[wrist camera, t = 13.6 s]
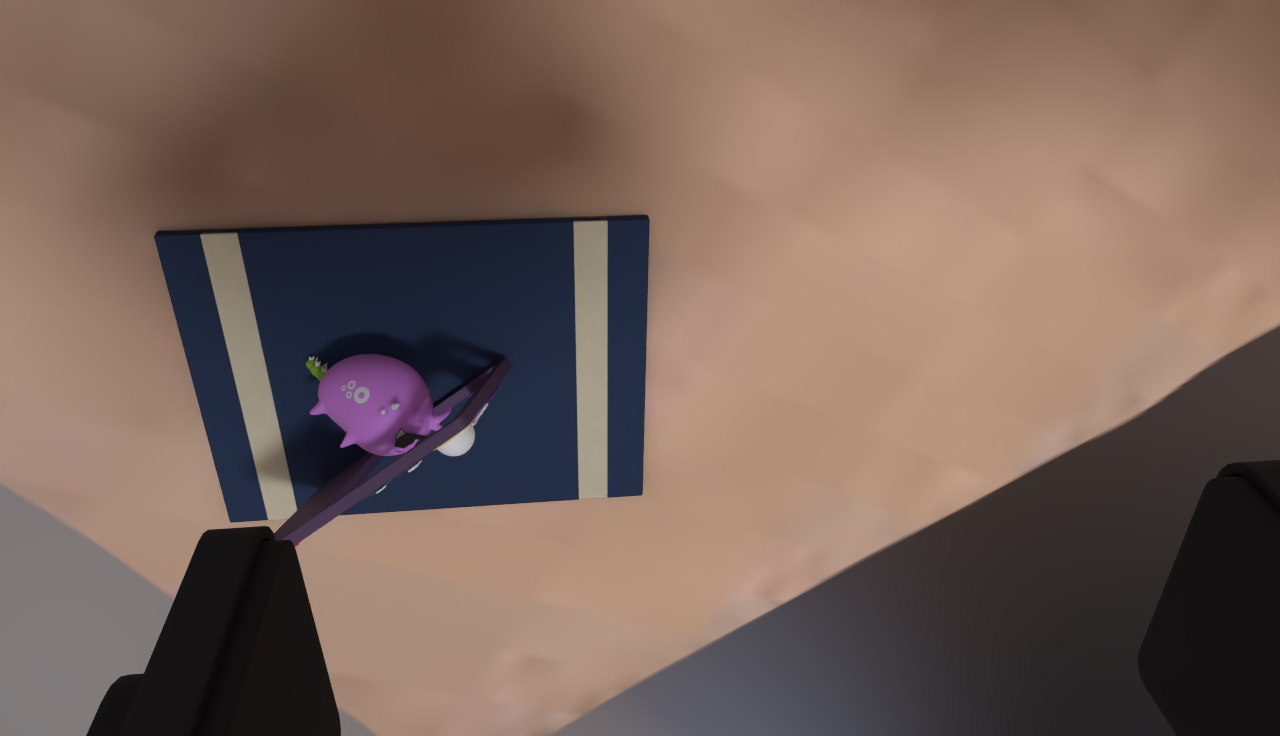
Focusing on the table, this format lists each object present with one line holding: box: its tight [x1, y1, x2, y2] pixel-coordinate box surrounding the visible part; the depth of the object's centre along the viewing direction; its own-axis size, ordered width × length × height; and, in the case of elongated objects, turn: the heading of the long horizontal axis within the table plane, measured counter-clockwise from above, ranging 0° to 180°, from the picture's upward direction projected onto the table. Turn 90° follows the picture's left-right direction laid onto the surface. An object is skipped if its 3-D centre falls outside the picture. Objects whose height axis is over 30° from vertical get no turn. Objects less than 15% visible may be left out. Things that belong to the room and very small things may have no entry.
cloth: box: [154, 215, 649, 522], centre depth 36 cm, size 16×12×1 cm
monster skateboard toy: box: [274, 354, 512, 547], centre depth 33 cm, size 7×5×9 cm
